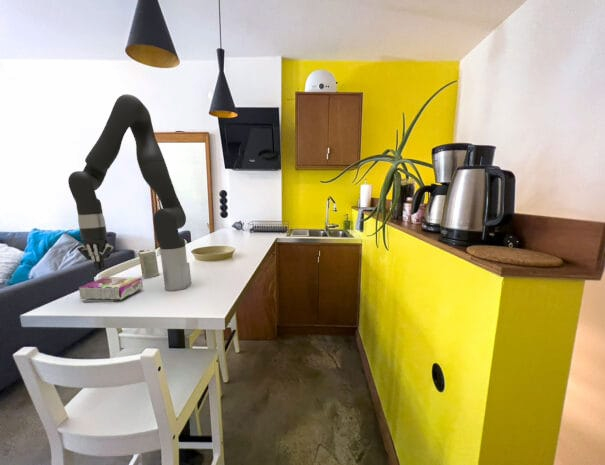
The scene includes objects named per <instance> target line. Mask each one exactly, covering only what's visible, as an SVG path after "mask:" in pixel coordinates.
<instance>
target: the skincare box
mask: <svg viewBox="0 0 605 465" xmlns="http://www.w3.org/2000/svg"><path fill="white" fill-rule="evenodd" d="M156 253H157V252H156V251H155V250H153V249H150V250H145V251H139V252H138V256H139V258H138V259H139V263H140V264H139V265H140V268H141V275H142V279H143V278H144V279H150V278H152V277H153V278H154V277H157V276H160V271H159V266H158V260H157V254H156Z"/></svg>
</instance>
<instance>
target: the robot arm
mask: <svg viewBox="0 0 605 465" xmlns="http://www.w3.org/2000/svg"><path fill="white" fill-rule="evenodd" d="M129 129H130V131H131V133H132V135H133V138H134V141H135V149H136V150H135V151H136V153H135V154H136V161H137V164H138V168H139V170H140V173H141V175H142V176H141V177H143V180H144V181H145V182H146V184H147V185H148V186H149V188H151V190H152V191H153V192H154V193H155V194H156V196H157V197H158V199H159V201H160V205H161V207H162V208H160V209H158V210H156V212H155V213H154V215H153V227H154V235H155V238H156V241H157V243H158V245H159V249H160V250H159V252H160V259H161V267H162V275H163V276H162V277H163V284H164V289H165V290H166V291H170V292H171V291H172V292H173V291H179V290H186V288H187V287H190V285H191V284H192V277H191V266H190V262H188V260H187V259H188V257H187V248H186V247H187V246H186V241H185V240H186V239H185V238H183V237H181V236H180V233H179V229H182V228H183V227H184V226H185V224H186V222H187V216H186V212H185V210H184V208H183V206H182V205H181V202H180V199H179V198H178V195H177V193H176V190H175V186H174V184H173V182H172V179H171V176H170V172H169V170H168V166H167V163H166V160H165V158H164V155H163V153H162V150H161V148H160V146H159V143H158V141H157V139H156V135H155V131H154V127H153V123H152V118H151V114H150V111H149V109H148V108H147V107H146V105H145V104H144V103H143V102H142V101H141V100H140V99H139V98H138V97H137V96H134V95H132V94H126V93H125V94H122V95H120V96H119V97H117V99H116V101H115V102H114V104H113V106H112V110H111V112H110V114H109V117H108V119H107V121H106V122H105V126H104V127H103V130H102V132H101V133H100V136H99V137H98V139H97V140H96V142H95V144H93V145H94V146H92V147H91V149H90V151H89V152H88V154H87V155H86V157H85V160H84V161H85V166H84V168H83V170H78V171H74V172H72V173H70V175H69V176H68V180H67V181H68V182H67V183H68V188H69V190H70V193H71V194H72V198H73V199H74V202H75V206H76V211H77V222H78V227H79V228H78V229H79V235H80V239H81V240H82V246H79V247H77V251H78V252H79V253H81V255H82V256H83V257H84V258H85V259H86V260H88V261H92V262H93V267H94V269H95V271H102V270H105V268H106V264H105V260H106V259H109V258H110V257H111V255H112V253H113V252H114V250H115V249H116V246H115V245H111V244H109V241H108V240H107V237H108V232H107V225H106V220H105V219H106V218H105V216H104V214H103V213H104V212H103V208H102V203H101V200H100V199H98V198H97V194H96V190H98V189H99V188H100V187H101V186H102V184H103V182H104V180H105V178H106V175H107V173H108V171H109V169H110V168H111V166H112V165H113V163H114V162H115V160H116V159H117V157H118V155H119V153H120V151H121V146H122V142H123V140H124V136H125V134H126V133H127V131H128V130H129Z"/></svg>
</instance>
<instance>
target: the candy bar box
mask: <svg viewBox="0 0 605 465" xmlns="http://www.w3.org/2000/svg"><path fill="white" fill-rule="evenodd" d="M142 289H144V287H143V277H128V276H127V277H119V276H118V277H114V276H111V277H110V276H108V277H107V276H105V277H102V278H100V279H96V280H94V281H91V282H89V283H86V284H83V285H82V286H79V287H78V291H79V298H80V300H86V299H116V301H118V300H120V301H121V300H123V299H125V298H127V297H129V296H130V295H133V294H134V293H137V292H139V291H141V290H142Z"/></svg>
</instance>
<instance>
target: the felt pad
mask: <svg viewBox="0 0 605 465" xmlns="http://www.w3.org/2000/svg"><path fill="white" fill-rule="evenodd" d="M116 301H117V300H116V299H83V301H82V302H83V303H85V304H87V303H91V304H92V303H115V302H116Z"/></svg>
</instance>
